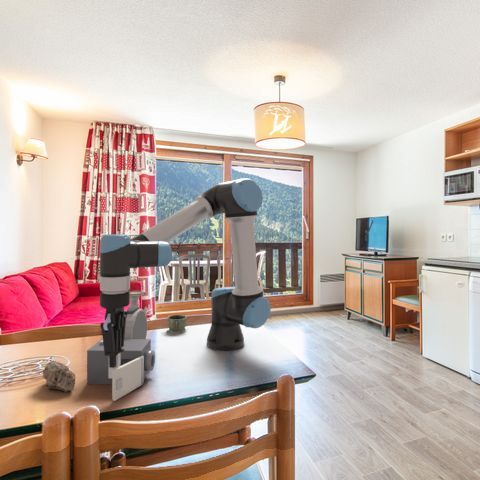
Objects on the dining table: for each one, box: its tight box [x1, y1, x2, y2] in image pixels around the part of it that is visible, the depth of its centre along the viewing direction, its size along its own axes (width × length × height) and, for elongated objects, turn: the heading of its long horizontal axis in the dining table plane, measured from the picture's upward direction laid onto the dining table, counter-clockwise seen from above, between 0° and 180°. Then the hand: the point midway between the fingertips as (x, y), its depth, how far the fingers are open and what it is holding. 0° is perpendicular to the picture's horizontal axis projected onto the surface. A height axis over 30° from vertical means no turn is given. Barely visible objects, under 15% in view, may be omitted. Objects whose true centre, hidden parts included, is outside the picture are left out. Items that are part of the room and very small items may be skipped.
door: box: [111, 356, 145, 402], centre depth 86 cm, size 11×2×8 cm, turn 154°
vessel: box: [166, 314, 188, 334], centre depth 144 cm, size 12×9×6 cm
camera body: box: [86, 338, 156, 385], centre depth 96 cm, size 18×10×11 cm, turn 91°
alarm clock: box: [124, 306, 148, 339], centre depth 111 cm, size 16×10×18 cm, turn 178°
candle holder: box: [128, 290, 145, 307], centre depth 128 cm, size 9×9×20 cm
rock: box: [42, 360, 76, 393], centre depth 90 cm, size 7×11×10 cm
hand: (114, 377), depth 84 cm, fingers closed
